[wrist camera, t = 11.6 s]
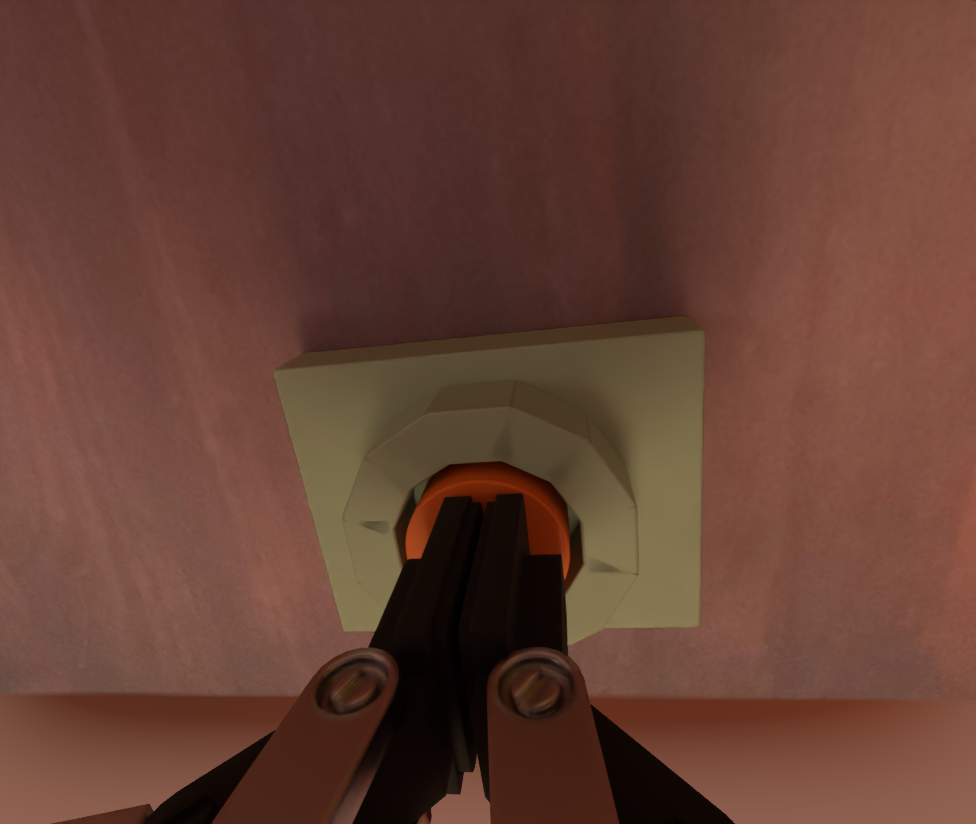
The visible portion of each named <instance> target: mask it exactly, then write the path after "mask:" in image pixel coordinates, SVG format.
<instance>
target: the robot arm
mask: <svg viewBox="0 0 976 824" xmlns="http://www.w3.org/2000/svg"><path fill="white" fill-rule="evenodd" d="M477 755H478V760H479V766H480V771H481V777H482V782H483V788H484V793H485V797H486V799H487V800H488V801H489V802H490V816H491V824H735V823H733V821H732V820H730V818H728V816H727V815H726V814H724V813H723V812H722V811H721V810H720V809H718V808H717V807H716V806H715V805H713V804H712V803H711V802H710V801H709V800H707V799H706V798H705V797H704V796H702V795H701V794H700V793H699V792H697V791H696V790H695V789H694V788H693V787H691V786H690V785H689V784H688V783H687V782H685V781H684V780H683V779H682V778H680V777H679V776H678V775H677V774H676V773H674V772H673V771H672V770H671V769H669V768H668V767H667V766H666V765H664V764H663V763H662V762H661V761H660V760H658V759H657V758H656V757H655V756H654V755H652V754H651V753H650V752H649V751H647V750H646V749H645V748H644V747H642V746H641V745H640V744H639V743H638V742H636V741H635V740H634V739H633V738H631V737H630V736H629V735H628V734H627V733H625V732H624V731H623V730H622V729H620V728H619V727H618V726H617V725H616V724H614V723H613V722H612V721H611V720H609V719H608V718H607V717H606V716H605V715H603V714H602V713H601V712H600V711H598V710H597V709H596V708H595V707H594V706H592V705H591V704H590V701H589V697H588V693H587V689H586V685H585V681H584V677H583V675H582V673H581V671H580V668H579V666H578V665H577V664H576V663H575V662H574V661H573V660H572V659H571V658H570V657H569V656H568V638H567V612H566V597H565V584H564V573H563V562H562V555H561V554H541V555H530V547H529V538H528V529H527V521H526V512H525V503H524V496H523V493H517V494H498V495H497V496H496V500H495V501H491V502H487V505H486V509H485V513H484V516H483V510H482V505H481V502H473V500H472V497H471V496H456V497H445V498H444V500H443V502H442V505H441V508H440V510H439V513H438V515H437V518H436V521H435V523H434V526H433V528H432V531H431V533H430V536H429V539H428V541H427V544H426V546H425V549H424V551H423V554H422V557H421V558H414V559H408V560H406V562H405V564H404V566H403V568H402V570H401V573H400V575H399V577H398V580H397V582H396V584H395V587H394V589H393V591H392V594H391V596H390V598H389V601H388V603H387V605H386V608H385V610H384V612H383V615H382V617H381V619H380V622H379V624H378V626H377V629H376V631H375V633H374V636H373V638H372V640H371V643H370V645H369V647H368V648H358V649H354V650H350V651H347V652H344V653H342V654H340V655H338V656H336V657H334V658H333V659H331V660H330V661H329V662H327V663H326V664H325V665H323V666H322V667H321V668H320V669H319V670H318V671H317V673H316V674H315V675H314V676H313V677H312V679H311V680H310V682H309V683H308V684H307V686H306V687H305V689H304V690H303V692H302V693H301V694H300V696H299V697H298V699H297V700H296V702H295V703H294V705H293V706H292V707H291V709H290V710H289V712H288V713H287V715H286V716H285V718H284V719H283V721H282V722H281V723H280V725H279V726H278V728H277V729H276V730H275V731H273V732H271V733H270V734H268V735H267V736H265V737H264V738H262V739H260V740H259V741H257V742H255V743H254V744H252V745H251V746H249V747H248V748H246V749H244V750H243V751H241V752H240V753H238V754H236V755H235V756H233V757H232V758H230V759H229V760H227V761H226V762H224V763H222V764H221V765H219V766H217V767H216V768H214V769H213V770H211V771H210V772H208V773H206V774H205V775H203V776H202V777H200V778H199V779H197V780H195V781H194V782H192V783H190V784H189V785H187V786H186V787H184V788H183V789H181V790H179V791H178V792H176V793H175V794H174V795H173V796H171V797H170V798H169V799H167V800H166V801H165V802H163V803H162V804H161V805H160V806H159V807H158V808H157V809H156V810H155V811H153V810H152V808H151V806H150V804H146V805H141V806H136V807H132V808H127V809H121V810H116V811H112V812H107V813H102V814H97V815H92V816H87V817H82V818H78V819H73V820H68V821H63V822H58V823H53V824H430V823H431V816H432V815H431V808H432V807H433V806H434V805H435V804H436V803H437V802H439V801H440V800H441V799H442V798H443V797H445V796H446V794H460V792H461V787H462V781H463V774H464V772H473V771H474V768H475V763H476V757H477Z"/></svg>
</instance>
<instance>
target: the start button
mask: <svg viewBox="0 0 976 824" xmlns="http://www.w3.org/2000/svg"><path fill="white" fill-rule="evenodd" d="M517 493H523V496H524V503H525V512H526V521H527V529H528V538H529V547H530V555H541V554H561V555H562V562H563V573H564V580H565V578H566V576H567V573H568V569H569V564H570V538H569V518H568V506H567V503H566V502H565V500H564V499H563V498H562V496H561V495H560V494H559V493H558V491H557V490H556V489H555V487H554V486H553V485H552V484H551V482H549V481H546V480H544V479H542V478H539V477H537V476H535V475H533V474H530V473H528V472H526V471H523V470H521V469H519V468H516V467H514V466H512V465H510V464H507V463H505V462H503V461H495V462H479V463H463V464H449V465H448V466H446V467H445V468H443V469H442V470H440V471H439V472H437V473H435V474H434V475H432V476H431V477H430V479H429V481H428V483H427V485H426V487H425V489H424V491H423V494H422V496H421V498H420V500H419V502H418V504H417V507H416V509H415V511H414V513H413V515H412V517H411V520H410V522H409V525H408V528H407V533H406V540H405V548H406V556H407V560H408V559H414V558H421V557H422V554H423V551H424V549H425V546H426V544H427V541H428V539H429V536H430V533H431V531H432V528H433V526H434V523H435V521H436V518H437V515H438V513H439V510H440V508H441V505H442V502H443V500H444V498H445V497H456V496H471V497H472V500H473V502H481V505H482V510H483V516H484V513H485V509H486V505H487V502H491V501H495V500H496V496H497V495H498V494H517Z"/></svg>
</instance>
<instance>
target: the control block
mask: <svg viewBox="0 0 976 824" xmlns="http://www.w3.org/2000/svg"><path fill="white" fill-rule="evenodd" d="M704 361H705V331H704V329H702V328H701V327H700V326H699V325H697V324H696V323H695V322H693V321H692V320H691V319H690V318H688V317H687V316H676V317H666V318H656V319H646V320H636V321H625V322H615V323H605V324H595V325H585V326H575V327H565V328H554V329H544V330H534V331H524V332H514V333H504V334H494V335H483V336H473V337H463V338H453V339H443V340H433V341H423V342H412V343H402V344H392V345H382V346H372V347H362V348H352V349H341V350H331V351H321V352H311V353H303V354H301V355H299V356H298V357H296V358H294V359H292V360H291V361H289V362H287V363H285V364H284V365H282V366H280V367H278V368H277V369H275V370H273V375H274V378H275V382H276V386H277V389H278V393H279V397H280V400H281V404H282V408H283V411H284V415H285V419H286V422H287V426H288V430H289V433H290V437H291V441H292V444H293V448H294V452H295V455H296V459H297V463H298V466H299V470H300V474H301V477H302V481H303V485H304V488H305V492H306V496H307V499H308V503H309V507H310V510H311V514H312V518H313V521H314V525H315V529H316V532H317V536H318V540H319V543H320V547H321V551H322V554H323V558H324V562H325V565H326V569H327V573H328V576H329V580H330V584H331V587H332V591H333V595H334V598H335V602H336V606H337V609H338V613H339V617H340V620H341V624H342V628H343V631H344V632H369V631H376V629H377V626H378V624H379V622H380V619H381V617H382V615H383V612H384V610H385V608H386V605H387V603H388V601H389V598H390V596H391V594H392V591H393V589H394V587H395V584H396V582H397V580H398V577H399V575H400V573H401V570H402V568H403V566H404V564H405V562H406V560H407V556H406V548H405V540H406V533H407V528H408V525H409V522H410V520H411V517H412V515H413V513H414V511H415V509H416V507H417V504H418V502H419V500H420V498H421V496H422V494H423V491H424V489H425V487H426V485H427V483H428V481H429V479H430V477H431V476H432V475H434V474H435V473H437V472H439V471H440V470H442V469H443V468H445V467H446V466H448V465H449V464H463V463H479V462H495V461H503V462H505V463H507V464H510V465H512V466H514V467H516V468H519V469H521V470H523V471H526V472H528V473H530V474H533V475H535V476H537V477H539V478H542V479H544V480H546V481H549V482H551V484H552V485H553V486H554V487H555V489H556V490H557V491H558V493H559V494H560V495H561V496H562V498H563V499H564V500H565V502H566V503H567V506H568V518H569V538H570V564H569V569H568V573H567V576H566V578H565V580H564V584H565V597H566V612H567V638H568V646H569V645H571V644H574V643H576V642H578V641H580V640H582V639H584V638H586V637H588V636H590V635H592V634H595V633H597V632H599V631H600V630H601V629H603V628H653V627H699V626H700V597H701V538H702V479H703V420H704Z"/></svg>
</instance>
